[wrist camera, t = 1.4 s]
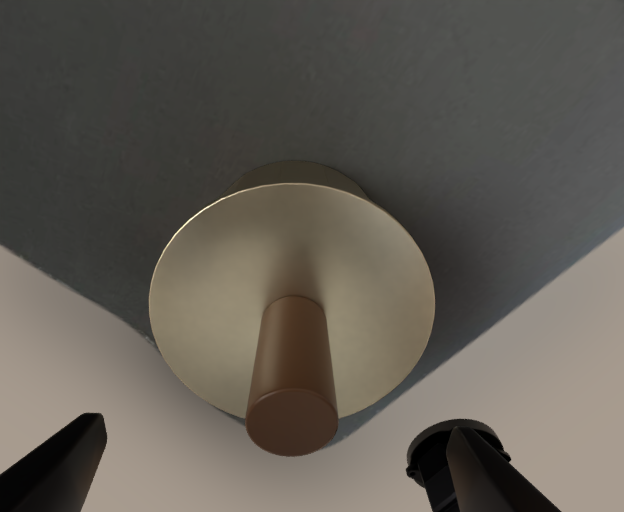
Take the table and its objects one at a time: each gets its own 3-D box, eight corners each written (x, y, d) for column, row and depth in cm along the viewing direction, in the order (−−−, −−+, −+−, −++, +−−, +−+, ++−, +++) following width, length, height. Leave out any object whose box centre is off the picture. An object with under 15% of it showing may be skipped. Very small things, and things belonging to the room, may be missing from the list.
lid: (455, 188, 13) (560, 253, 8) (398, 410, 17) (442, 548, 12) (147, 162, 12) (33, 214, 7) (168, 400, 16) (108, 543, 11)
